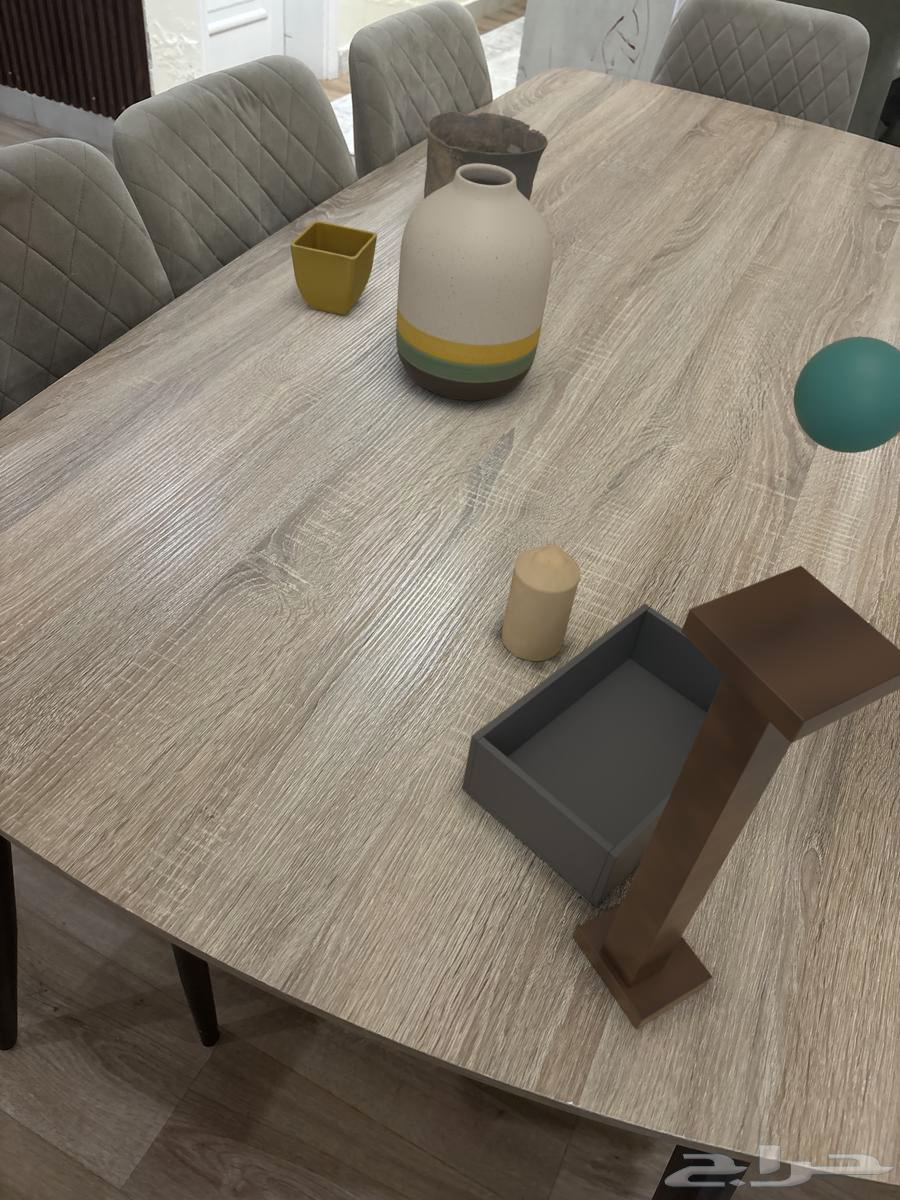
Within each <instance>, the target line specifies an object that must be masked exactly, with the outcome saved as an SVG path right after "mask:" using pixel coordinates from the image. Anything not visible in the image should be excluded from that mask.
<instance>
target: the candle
mask: <svg viewBox="0 0 900 1200" xmlns="http://www.w3.org/2000/svg"><path fill="white" fill-rule="evenodd" d="M580 579H581V569H580V566H579V564H578V562H577V561H576V559H574V558H573V557H572V556H571V555H569V553H567V552H566V551H565V550H564V549H562V547H561V546H560V545H558V544H548V545H540V546H535V547H531V548H528V549H526V550H524V551H522V552H521V553H520V554H519V555H518V556H517V557H516V559H515V561H514V566H513V570H512V576H511V582H510V586H509V592H508V597H507V602H506V608H505V613H504V617H503V623H502V628H501V629H502V630H501V639H502V642H503V645H504V646H505V649H507V650H508V651H509V652H510V653H511V654H512V655H514V656H515V657H517V658H519V659H522V660H525V661H529V662H543V661H547V660H550V659H553V658H554V657H555V656H556V655H557V654H558V653H559V652H560V650H561V649H562V647H563V644H564V640H565V637H566V633H567V629H568V625H569V622H570V618H571V613H572V609H573V606H574V601H575V597H576V594H577V590H578V588H579V587H578V586H579V582H580Z"/></svg>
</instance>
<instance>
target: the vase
mask: <svg viewBox="0 0 900 1200" xmlns="http://www.w3.org/2000/svg"><path fill="white" fill-rule="evenodd" d="M552 241H553V240H552V235H551V232H550V227H549V225H548V224H547V221H546V219H545V217H544V216H543V215H542V213H541V212H540V211H539V210H538V208H537V207H536V206H535V205H534V204H533V203H532V202H531V201H529V200H528V199H527V198H526V197H524V196H523V195H522V194H521V193H520V192H519V191H518V190H517V186H516V177H515V175H514V174H513V173H512V172H511V171H509V170H507V169H505V168H502V167H499V166H495V165H490V164H480V163H476V164H467V165H463V166H461V167H459V168H458V169H457V171H456V173H455V177H454V179H453V181H452V182H451V183H449V184H447V185H446V186H444V187H442V188H440V189H438V190H436V191H435V192H433V193H431V194H430V195H429V196H427V197H426V198H425V199H424V198H423V199H422V200H421V201H420V202H419V203H417V205H416V206H415V207H414V209H413V210H412V212H411V214H410V215H409V217H408V219H407V222H406V224H405V227H404V230H403V232H402V238H401V244H400V251H399V252H400V253H399V265H398V266H399V267H398V283H397V301H396V302H397V303H396V318H395V319H396V320H395V321H396V323H395V340H396V341H395V343H396V350H397V354H398V357H399V361H400V363H401V365H402V367H403V369H404V371H405V372H406V374H407V375H408V376H409V377H410V378H411V379H412V380H413V382H415V383H416V384H417V385H419V386H420V387H422V388H424V389H426V390H428V391H429V392H431V393H434V394H436V395H439V396H442V397H445V398H450V399H454V400H463V401H481V400H488V399H494V398H496V397H500V396H503V395H505V394H508V393H510V392H511V391H512V390H514V389H515V388H517V387H518V386H519V385H520V384H521V383H522V382H523V380H524V379H525V378H526V376H527V375H528V373H529V372H530V370H531V368H532V366H533V363H534V361H535V358H536V355H537V350H538V346H539V340H540V336H541V331H542V325H543V320H544V314H545V308H546V304H547V303H546V302H547V297H548V291H549V286H550V281H551V275H552V269H553V258H554V256H553V255H554V253H553V251H554V250H553V248H554V247H553V242H552Z"/></svg>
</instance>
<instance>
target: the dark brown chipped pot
mask: <svg viewBox="0 0 900 1200" xmlns="http://www.w3.org/2000/svg"><path fill="white" fill-rule="evenodd" d="M530 128H531V124H526V123H525V121H522V120H520V119H516V118H513V117H508V116H505V115H503V114H495V113H491V112H479V113H474V114H469V113H462V112H461V111H448V112H444V113H440V114H437V115H435V116H433V117H431V118H430V120H429V121H428V123H427V126H426V134H427V145H426V146H427V147H426V168H425V169H426V170H425V179H424V185H423V186H424V187H423V188H424V189H423V199H425V198H426V197H427V196H429V195H430V194H431V193H433V192H435V191H436V190H438V189H440V188H442V187H444V186H446V185H447V184H449V183H451V182H452V181H453V179H454V177H455V173H456V171H457V169H458V168H459V167H461V166H463V165H467V164H476V163H480V164H490V165H495V166H499V167H502V168H505V169H507V170H509V171H511V172H512V173H513V174H514V175H515V177H516V186H517V190H518V191H519V192H520V193H521V194H522V195H523V196H524V197H526V198H527V199H528V200H529V201H530V200H531V196H532V193H533V186H534V181H535V177H536V175H537V172H538V168H539V164H540V162H541V158H542V156H543V154H544V152H545V150H546V149H547V147H548V145H549V141H548V139H547V137H546V135H544V134H543V133H542V132H540V130H536V129H534V128H533V129H530ZM530 202H531V201H530Z"/></svg>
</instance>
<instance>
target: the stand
mask: <svg viewBox="0 0 900 1200" xmlns="http://www.w3.org/2000/svg"><path fill="white" fill-rule="evenodd" d="M681 628H682V631H681V632H682V633H683V634H684V635H685V636H686V637H687V638H688V639H689V640H690V641H691V642H692V643H693V644H694V645H695V646H696V647H697V648H698V649H699V650H700V651H701V652H702V653H703V654H704V655H705V657H706V658H707V659H708V660H709V661H710V662H711V663H712V664H713V665H714V666H715V667H716V668H717V669H718V670H719V671H720V672H721V673H722V674H723V675H724V677H723V679H722V681H721V684H720V686H719V688H718V690H717V692H716V695H715V697H714V699H713V701H712V704H711V706H710V708H709V710H708V712H707V715H706V717H705V719H704V721H703V723H702V726H701V728H700V730H699V732H698V735H697V737H696V739H695V741H694V743H693V746H692V748H691V750H690V752H689V755H688V757H687V759H686V761H685V763H684V766H683V768H682V770H681V772H680V775H679V777H678V779H677V781H676V783H675V786H674V788H673V790H672V792H671V795H670V797H669V799H668V801H667V803H666V806H665V808H664V810H663V812H662V815H661V817H660V819H659V821H658V823H657V826H656V828H655V830H654V832H653V835H652V837H651V839H650V841H649V843H648V846H647V848H646V850H645V852H644V855H643V857H642V859H641V861H640V863H639V864H638V865H637V867H636V870H635V872H634V875H633V876H632V879H631V882H630V883H629V886H628V888H627V890H626V892H625V894H624V897H623V898H622V901H621V903H619V904H616V905H615V906H613V907H611V908H610V909H607V910H606V911H604V912H602V913H600V914H598V915H596V916H595V917H593V918H591V919H589V920H587V921H585V922H583V923H582V924H580V925H578V926H577V927H576V929H575V931H574V935H573V939H574V940H575V942H576V943H577V945H578V946H579V948H580V949H581V951H582V952H583V953H584V955H585V956H586V958H587V959H588V961H589V962H590V964H591V966H592V967H593V968H594V970H595V972H597V974H598V975H599V977H600V978H601V980H602V981H603V983H604V984H605V986H606V987H607V989H608V990H609V991H610V993H611V994H612V996H613V997H614V999H615V1000H616V1002H617V1003H618V1004H619V1005H618V1006H619V1007H620V1008H621V1010H622V1011H623V1012H624V1013H625V1015H626V1016H627V1018H628V1019H629V1021H630V1022H631V1024H632V1025H633V1027H634V1028H635V1030H639V1029H640V1028H642V1027H644V1026H645V1025H647V1024H648V1023H650V1022H652V1021H653V1020H654V1019H656V1018H658V1017H659V1016H661V1015H663V1014H664V1013H666V1012H667V1011H669V1010H671V1009H672V1008H673V1007H676V1006H677V1005H679V1004H681V1003H682V1002H683V1001H685V1000H687V999H688V998H690V997H692V996H693V995H695V994H697V993H698V992H700V991H701V990H703V989H704V988H706V987H707V986H708V984H709V983H710V981H711V980H712V978H713V975H712V974H711V973H710V971H709V970H708V969H707V967H706V966H705V965H704V964H703V962H702V961H701V960H700V958H699V957H698V956H697V954H696V953H695V952H694V950H693V949H692V948H691V946H690V945H689V944H688V943H687V941H686V940H685V938H684V937H683V935H684V933H685V931H686V930H687V929H688V926H689V924H690V922H691V921H692V919H693V918H694V916H695V914H696V912H697V910H698V909H699V907H700V905H701V903H702V902H703V900H704V898H705V897H706V895H707V893H708V891H709V890H710V888H711V886H712V884H713V882H714V880H715V879H716V878H717V875H718V873H719V872H720V870H721V868H722V866H724V865H723V864H724V863H725V861H726V859H727V858H728V856H729V854H730V852H731V850H732V849H733V847H734V845H735V844H736V842H737V840H738V838H739V837H740V835H741V833H742V831H743V830H744V828H745V826H746V824H747V823H748V821H749V819H750V818H751V816H752V814H753V812H754V810H755V808H756V807H757V805H758V803H759V801H760V799H761V798H762V796H763V794H764V793H765V791H766V789H767V787H768V786H769V784H770V782H771V781H772V779H773V777H774V776H775V774H776V772H777V770H778V768H779V766H780V764H781V763H782V761H783V759H784V757H785V756H786V754H787V752H788V750H789V749H790V747H791V745H792V744H793V743H795V742H797V741H799V740H801V739H804V738H805V737H807V736H809V735H811V734H813V733H815V732H818V731H819V730H821V729H823V728H825V727H827V726H829V725H831V724H833V723H835V722H837V721H839V720H841V719H843V718H845V717H848V716H849V715H851V714H853V713H855V712H857V711H859V710H861V709H863V708H865V707H867V706H869V705H871V704H873V703H875V702H877V701H878V700H881V699H883V698H884V697H887V696H889V695H891V694H893V693H895V692H897V691H899V690H900V648H899V647H898V646H897V645H895V644H894V643H893V642H892V641H890V640H889V639H888V638H887V637H886V636H885V635H883V634H882V633H881V632H880V631H879V630H877V629H876V628H875V627H874V626H873V625H872V624H870V623H869V622H868V621H867V620H866V619H865V618H863V616H861V615H860V614H858V612H856V610H854V609H853V608H852V607H850V605H848V604H847V603H846V602H845V601H844V600H842V598H840V597H839V596H838V595H836V594H835V593H834V592H833V591H831V590H830V589H829V588H828V587H827V586H825V584H823V583H822V582H821V581H820V580H818V578H816V577H815V576H814V575H813V574H812V573H811V572H809V570H807V569H806V568H805V567H803V566H802V565H798V566H796V567H793V568H791V569H788V570H786V571H782V572H781V573H778V574H774V575H773V576H769V577H767V578H764V579H762V580H760V581H757V582H755V583H753V584H750V585H747V586H744V587H742V588H740V589H737V590H734V591H731V592H729V593H727V594H725V595H721V596H718V597H717V598H714V599H712V600H709V601H707V602H704V603H702V604H699V605H696V606H694V607H691V608H690V609H689V610H688V612H687V615H686V618H685V620H684V623H683V626H682V627H681Z"/></svg>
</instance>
